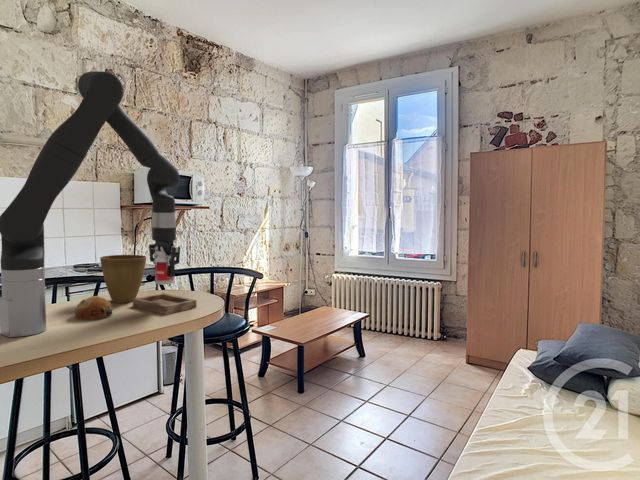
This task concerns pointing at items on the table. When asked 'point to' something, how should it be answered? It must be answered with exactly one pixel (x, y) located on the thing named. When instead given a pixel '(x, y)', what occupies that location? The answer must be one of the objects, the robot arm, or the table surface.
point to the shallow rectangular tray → (164, 303)
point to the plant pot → (123, 276)
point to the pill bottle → (162, 270)
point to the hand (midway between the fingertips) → (164, 275)
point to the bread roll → (93, 308)
